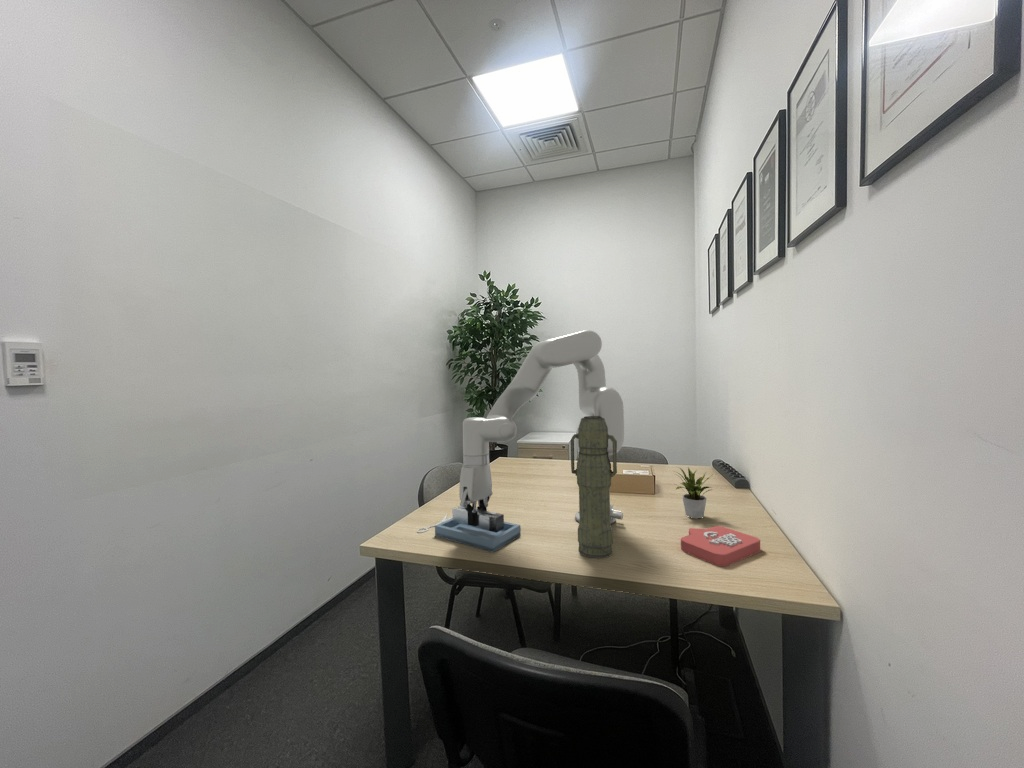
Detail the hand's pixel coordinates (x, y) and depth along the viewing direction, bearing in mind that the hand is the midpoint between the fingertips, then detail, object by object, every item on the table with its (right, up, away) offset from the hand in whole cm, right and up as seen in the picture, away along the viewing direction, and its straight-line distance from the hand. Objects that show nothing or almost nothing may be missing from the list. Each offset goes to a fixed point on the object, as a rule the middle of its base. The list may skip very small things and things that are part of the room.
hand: (477, 522), depth 114 cm
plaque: (+63, -3, -11) cm, 64 cm away
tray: (0, -4, 0) cm, 4 cm away
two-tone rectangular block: (0, -1, 0) cm, 1 cm away
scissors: (-12, -5, +11) cm, 17 cm away
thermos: (+32, -3, -12) cm, 34 cm away
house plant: (+68, -3, +13) cm, 69 cm away
